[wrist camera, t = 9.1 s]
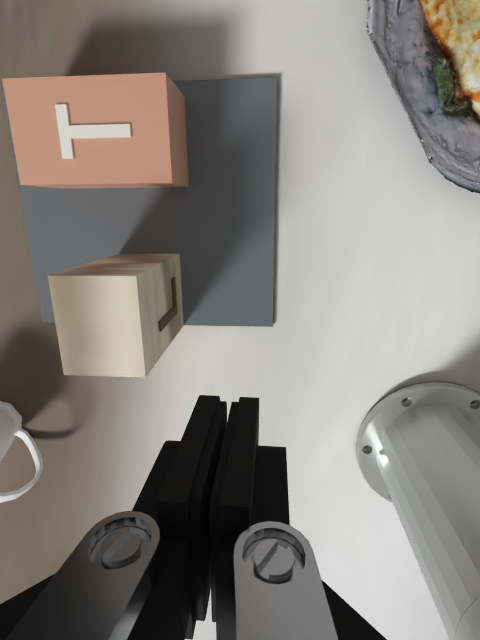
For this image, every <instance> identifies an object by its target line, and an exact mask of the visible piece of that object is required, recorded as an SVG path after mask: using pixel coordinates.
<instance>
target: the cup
mask: <svg viewBox="0 0 480 640" xmlns="http://www.w3.org/2000/svg"><path fill="white" fill-rule="evenodd" d="M16 435H17V436H18V437H20V438H22V439H23V441H24V442H25V443H26V445H27V446H28V448H29V450H30V452H31V454H32V457H33V459H34V462H35V466H36V475H35V478H34V479H33V480H31V481H30V482H29V483H28V484H27V485H25V486H24V487H22V488H21V489H19V490H16V491H11V492H7V493H0V503H1V502H5V501H10V500H14V499H16V498H18V497H19V496H21V495H22V494H24V493H25V492H27V491H28V490H29V489H30V488H31V487H32V486H33V485H34V484H35V483H36V482H37V480H38V478H39V477H40V474H41V472H42V469H43V463H42V457H41V455H40V452H39V450H38V448H37V446H36V443H35V441H34V440H33V438H32V437H31V436H30V434H29V433H28V432H27V431H25V430H24V429H22V416H21V415H20V414H19V413H18V412H17V411H16V409H15V408H14V407H13V406H12V405H11V404H10V403H6V402H2V401H0V461H1V460H2V458H3V457H4V456H5V454H6V452H7V451H8V449H9V447H10V446H11V444H12V442H13V441H14V436H16Z"/></svg>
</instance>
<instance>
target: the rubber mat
mask: <svg viewBox="0 0 480 640" xmlns="http://www.w3.org/2000/svg"><path fill="white" fill-rule="evenodd" d="M173 83H174V84H175V85H176V87H177V88H178V89H179V90H180V92H181V93H182V94H183V96H184V97H185V115H186V137H187V158H188V180H189V187H145V188H68V189H61V188H50V187H38V186H27V185H20V180H19V174H18V168H17V162H16V156H15V150H14V145H13V139H12V133H11V127H10V121H9V116H8V110H7V104H6V98H5V92H4V87H2V92H3V98H4V104H5V110H6V115H7V121H8V127H9V133H10V138H11V144H12V150H13V156H14V161H15V167H16V173H17V178H18V184H19V190H20V196H21V201H22V207H23V213H24V219H25V224H26V230H27V236H28V242H29V247H30V253H31V259H32V265H33V270H34V276H35V282H36V288H37V293H38V299H39V305H40V311H41V316H42V322H43V323H55V317H54V311H53V305H52V299H51V293H50V287H49V281H48V275H51V274H54V273H58V272H61V271H64V270H67V269H70V268H74V267H77V266H80V265H83V264H87V263H90V262H93V261H96V260H100V259H103V258H106V257H109V256H113V255H116V254H180V268H181V286H182V304H183V321H184V325H208V326H270V327H273V280H274V225H275V171H276V117H277V78H250V79H222V80H194V81H173Z"/></svg>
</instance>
